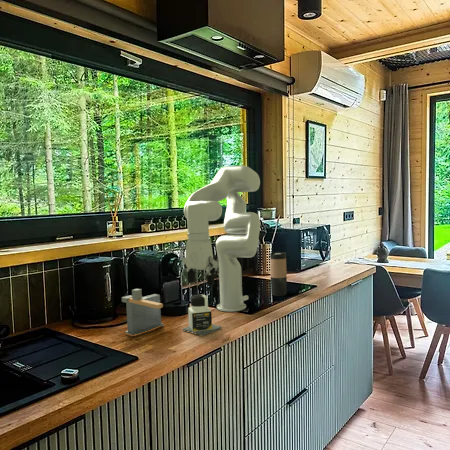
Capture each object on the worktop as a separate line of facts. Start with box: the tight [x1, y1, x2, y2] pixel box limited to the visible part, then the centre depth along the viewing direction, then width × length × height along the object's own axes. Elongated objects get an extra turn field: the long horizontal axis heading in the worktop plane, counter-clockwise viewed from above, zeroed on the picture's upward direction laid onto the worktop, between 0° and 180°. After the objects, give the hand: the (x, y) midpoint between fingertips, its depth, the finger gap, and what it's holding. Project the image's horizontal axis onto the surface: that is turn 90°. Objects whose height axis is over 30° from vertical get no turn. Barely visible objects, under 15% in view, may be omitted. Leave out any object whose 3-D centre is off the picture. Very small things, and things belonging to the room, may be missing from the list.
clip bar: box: [121, 288, 164, 309], centre depth 145 cm, size 4×19×5 cm, turn 49°
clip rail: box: [125, 293, 164, 335], centre depth 156 cm, size 14×4×12 cm, turn 139°
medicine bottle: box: [187, 294, 213, 332], centre depth 154 cm, size 7×7×12 cm
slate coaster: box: [182, 323, 222, 337], centre depth 155 cm, size 10×10×1 cm
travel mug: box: [269, 251, 288, 297], centre depth 204 cm, size 8×8×20 cm
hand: (201, 283), depth 155 cm, fingers open, 9 cm apart
